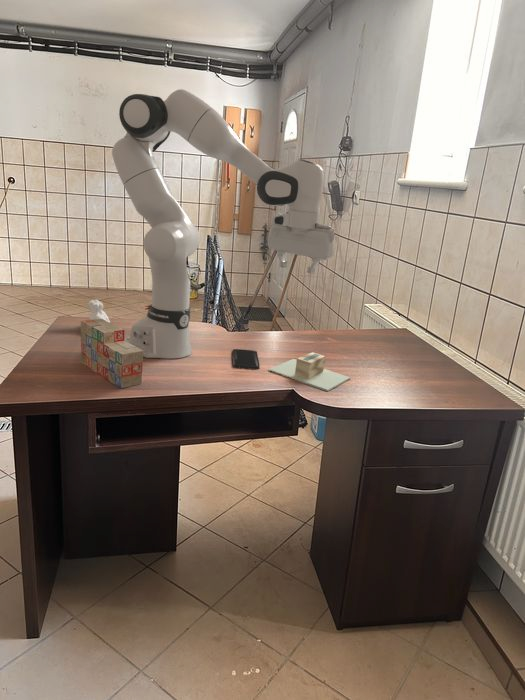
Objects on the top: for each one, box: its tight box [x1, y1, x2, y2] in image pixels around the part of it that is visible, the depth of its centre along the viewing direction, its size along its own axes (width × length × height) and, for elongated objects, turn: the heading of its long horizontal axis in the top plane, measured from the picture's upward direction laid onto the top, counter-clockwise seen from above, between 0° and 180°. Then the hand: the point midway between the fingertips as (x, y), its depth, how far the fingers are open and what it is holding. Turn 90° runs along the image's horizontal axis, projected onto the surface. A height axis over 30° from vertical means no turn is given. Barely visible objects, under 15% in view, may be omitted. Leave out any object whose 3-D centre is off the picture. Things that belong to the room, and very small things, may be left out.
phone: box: [231, 348, 261, 370], centre depth 158 cm, size 8×1×15 cm
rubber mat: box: [267, 358, 351, 392], centre depth 152 cm, size 20×14×1 cm
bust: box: [86, 299, 111, 323], centre depth 170 cm, size 12×8×11 cm
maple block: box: [295, 351, 326, 379], centre depth 151 cm, size 9×4×5 cm, turn 145°
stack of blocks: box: [80, 319, 144, 389], centre depth 136 cm, size 21×6×12 cm, turn 45°
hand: (296, 270), depth 150 cm, fingers open, 8 cm apart
